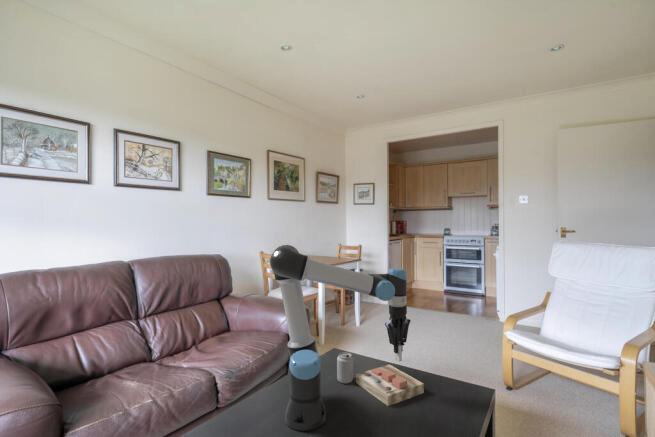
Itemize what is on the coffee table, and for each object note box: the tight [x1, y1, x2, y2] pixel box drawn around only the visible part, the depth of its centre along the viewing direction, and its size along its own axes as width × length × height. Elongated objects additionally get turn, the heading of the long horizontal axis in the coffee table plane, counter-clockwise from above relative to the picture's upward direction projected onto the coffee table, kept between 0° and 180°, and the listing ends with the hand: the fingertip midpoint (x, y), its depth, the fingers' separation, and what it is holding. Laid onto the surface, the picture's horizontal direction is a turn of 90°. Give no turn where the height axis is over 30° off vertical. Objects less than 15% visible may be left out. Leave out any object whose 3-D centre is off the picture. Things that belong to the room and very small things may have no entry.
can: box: [336, 352, 354, 385], centre depth 151 cm, size 8×8×12 cm
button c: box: [371, 366, 385, 376], centre depth 150 cm, size 4×4×4 cm
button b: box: [382, 370, 396, 383], centre depth 144 cm, size 4×4×4 cm
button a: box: [392, 376, 407, 390], centre depth 138 cm, size 4×4×4 cm
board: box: [355, 364, 425, 407], centre depth 144 cm, size 20×22×4 cm
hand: (398, 360), depth 139 cm, fingers closed
